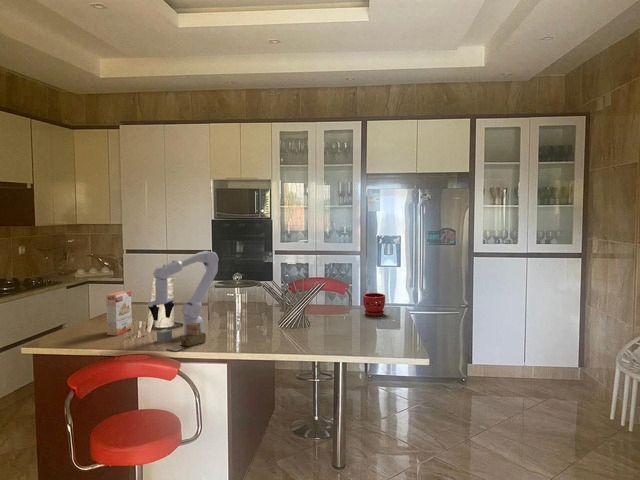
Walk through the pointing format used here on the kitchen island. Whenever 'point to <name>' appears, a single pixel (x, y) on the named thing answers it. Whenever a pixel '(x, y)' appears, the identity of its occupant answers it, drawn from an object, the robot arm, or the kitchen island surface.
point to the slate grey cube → (164, 335)
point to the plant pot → (374, 303)
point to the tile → (176, 348)
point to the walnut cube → (193, 328)
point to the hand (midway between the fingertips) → (161, 319)
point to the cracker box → (118, 312)
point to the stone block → (193, 339)
